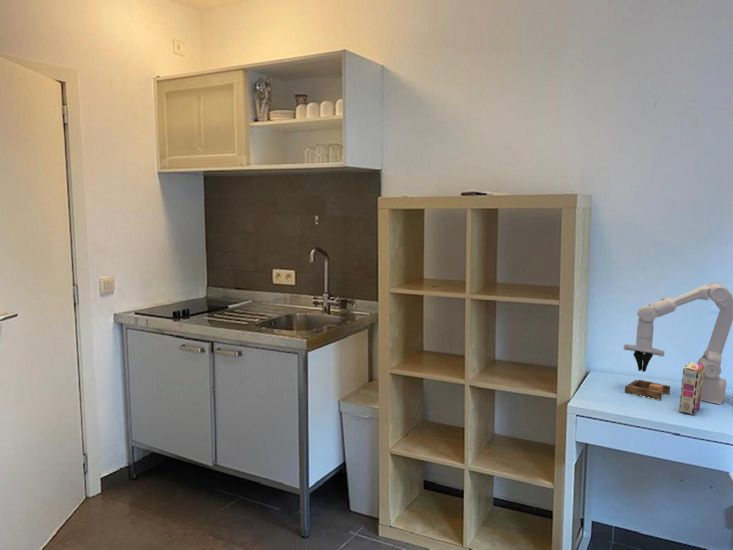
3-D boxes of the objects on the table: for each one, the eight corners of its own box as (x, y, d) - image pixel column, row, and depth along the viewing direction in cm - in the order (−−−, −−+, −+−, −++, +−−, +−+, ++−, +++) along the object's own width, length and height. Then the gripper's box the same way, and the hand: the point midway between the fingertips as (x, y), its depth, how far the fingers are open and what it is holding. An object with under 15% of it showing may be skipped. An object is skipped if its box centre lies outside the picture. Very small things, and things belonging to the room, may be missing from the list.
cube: (662, 395, 230) (663, 385, 229) (659, 397, 227) (659, 387, 226) (651, 392, 232) (652, 382, 232) (648, 395, 229) (648, 385, 229)
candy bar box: (694, 416, 208) (698, 370, 206) (678, 412, 211) (682, 367, 209) (700, 407, 216) (704, 363, 214) (685, 404, 219) (689, 361, 217)
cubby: (669, 393, 231) (670, 386, 231) (660, 400, 223) (660, 392, 223) (635, 386, 240) (635, 378, 240) (624, 392, 232) (625, 385, 231)
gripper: (668, 338, 228) (665, 372, 230) (629, 332, 238) (626, 365, 240) (662, 341, 223) (659, 376, 225) (622, 335, 233) (620, 368, 235)
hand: (642, 370), depth 232 cm, fingers closed
